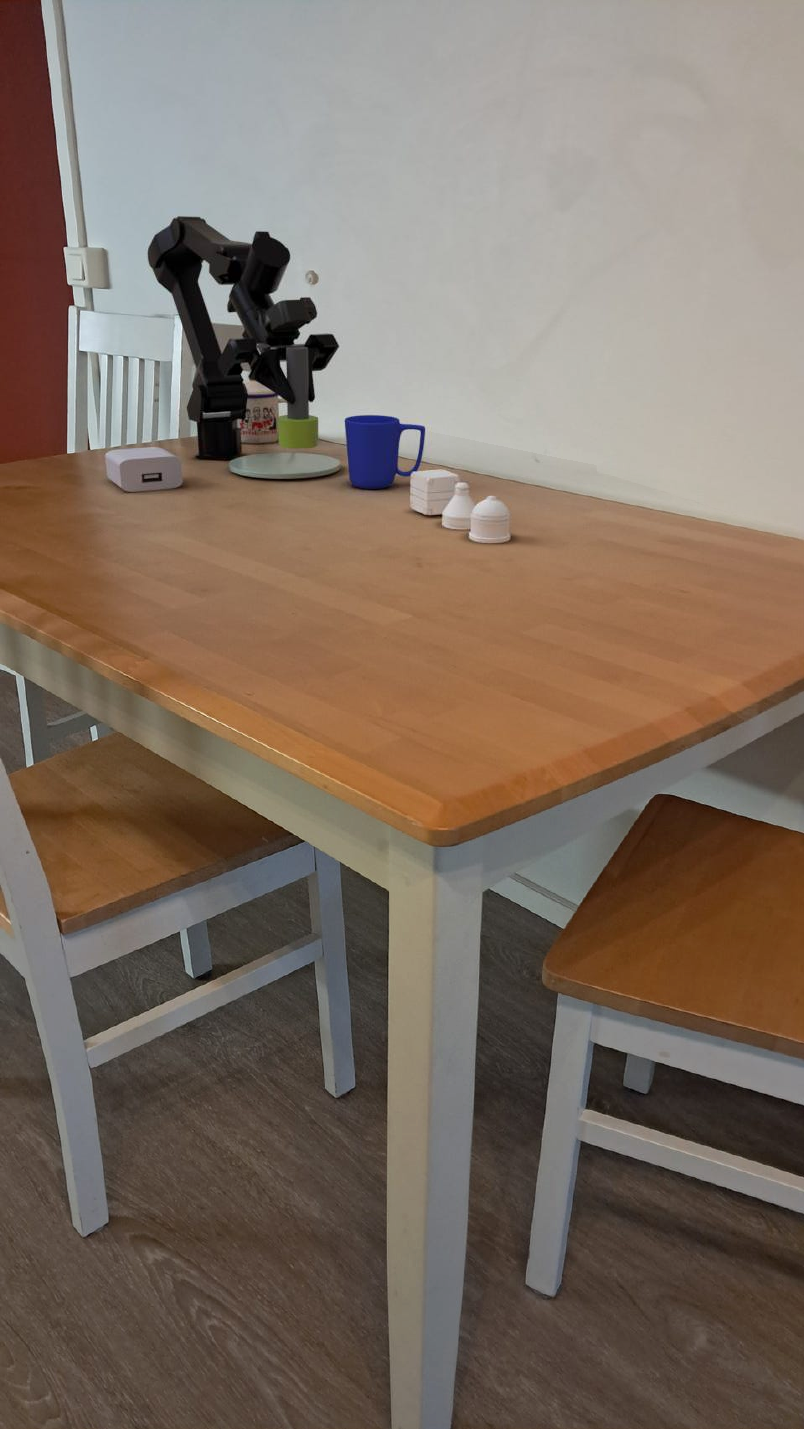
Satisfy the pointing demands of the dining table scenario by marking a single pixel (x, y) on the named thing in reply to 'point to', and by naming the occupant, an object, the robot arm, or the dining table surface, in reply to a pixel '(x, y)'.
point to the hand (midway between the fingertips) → (303, 401)
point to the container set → (459, 506)
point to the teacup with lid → (260, 415)
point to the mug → (376, 449)
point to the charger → (143, 469)
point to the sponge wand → (298, 405)
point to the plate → (284, 465)
